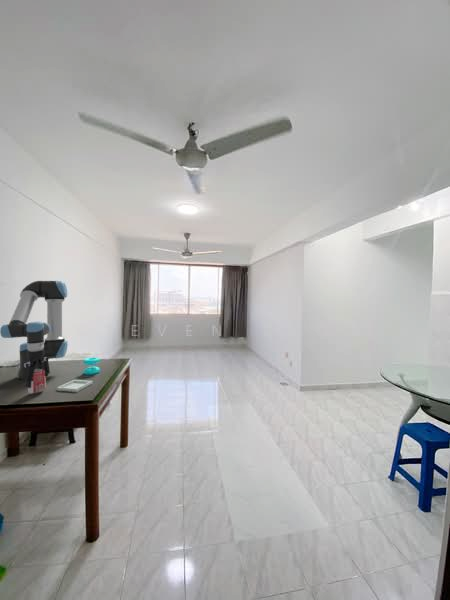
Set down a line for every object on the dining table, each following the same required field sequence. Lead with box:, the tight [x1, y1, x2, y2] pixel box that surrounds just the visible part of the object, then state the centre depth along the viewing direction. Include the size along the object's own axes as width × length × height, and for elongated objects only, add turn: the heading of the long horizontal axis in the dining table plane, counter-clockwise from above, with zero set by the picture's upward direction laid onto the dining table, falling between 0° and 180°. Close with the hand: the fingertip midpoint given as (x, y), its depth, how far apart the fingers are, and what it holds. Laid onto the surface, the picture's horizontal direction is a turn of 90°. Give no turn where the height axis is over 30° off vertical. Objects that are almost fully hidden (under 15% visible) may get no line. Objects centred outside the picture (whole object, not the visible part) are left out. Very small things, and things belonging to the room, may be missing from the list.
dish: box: [56, 379, 94, 393], centre depth 150 cm, size 13×13×2 cm
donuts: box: [82, 356, 101, 376], centre depth 176 cm, size 10×10×10 cm
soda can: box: [32, 369, 46, 394], centre depth 140 cm, size 7×7×12 cm
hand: (37, 389), depth 141 cm, fingers closed on soda can, 7 cm apart
